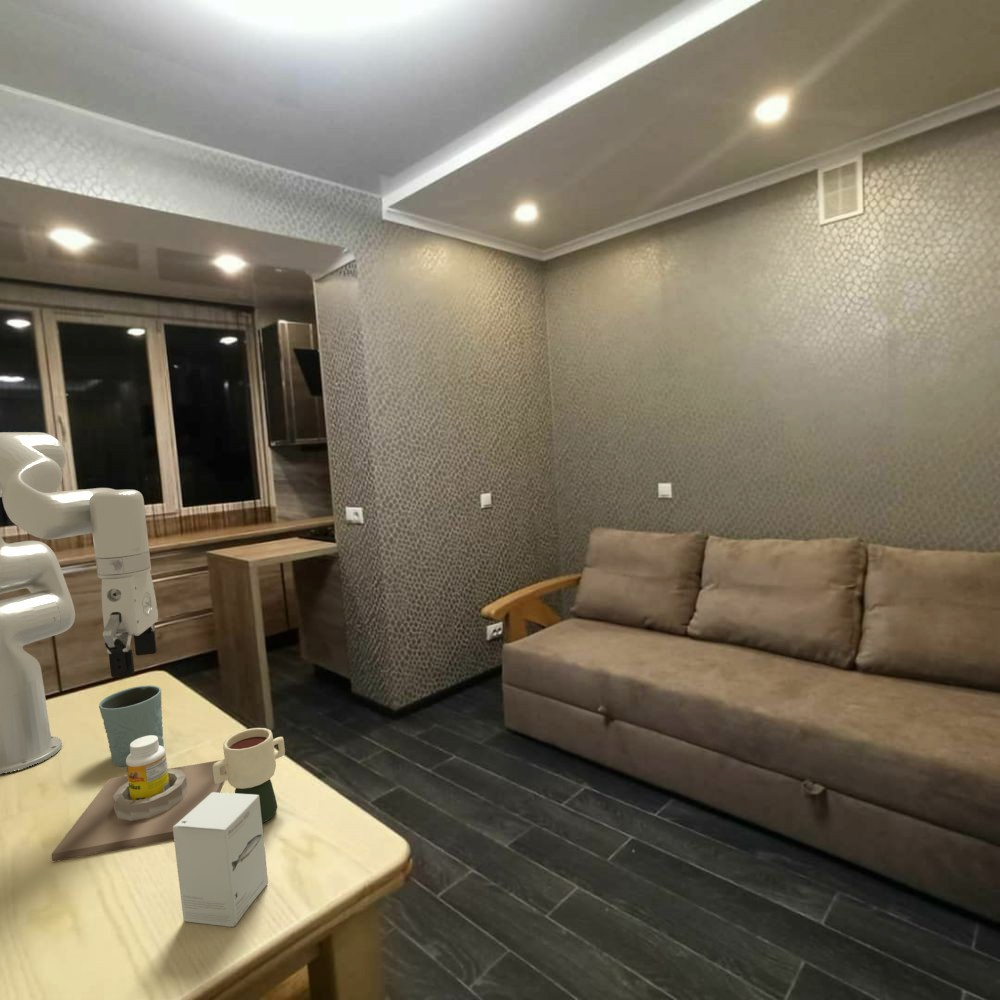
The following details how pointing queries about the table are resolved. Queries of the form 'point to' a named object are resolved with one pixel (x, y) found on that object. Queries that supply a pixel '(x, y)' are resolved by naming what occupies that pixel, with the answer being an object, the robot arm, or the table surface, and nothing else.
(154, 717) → the blue-grey plant pot
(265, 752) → the character mug
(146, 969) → the table surface
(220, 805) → the supplement box
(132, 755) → the supplement bottle
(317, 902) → the table surface
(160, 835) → the collar board
